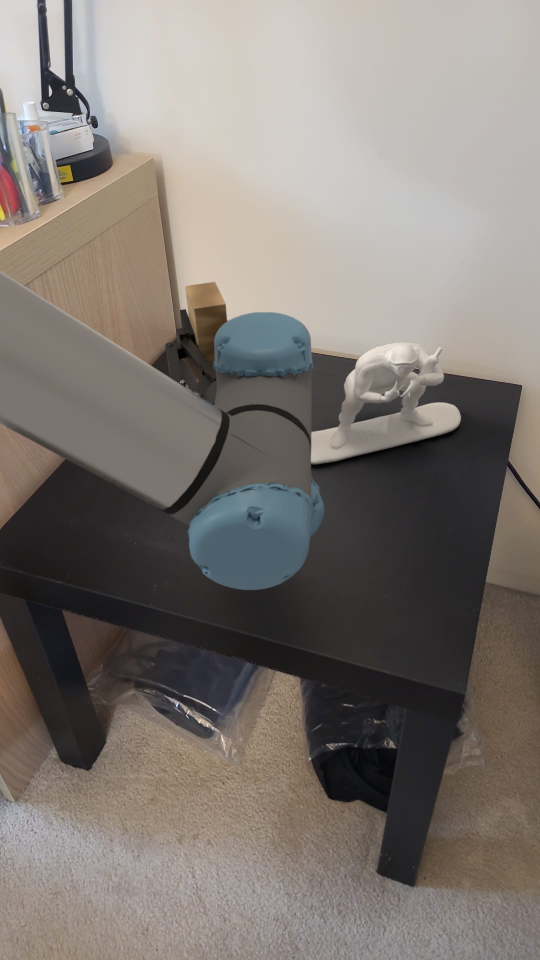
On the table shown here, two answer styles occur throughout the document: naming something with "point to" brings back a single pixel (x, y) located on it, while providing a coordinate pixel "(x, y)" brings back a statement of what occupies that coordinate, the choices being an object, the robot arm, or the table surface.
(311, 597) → the table surface
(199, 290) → the wooden block
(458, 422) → the figurine
